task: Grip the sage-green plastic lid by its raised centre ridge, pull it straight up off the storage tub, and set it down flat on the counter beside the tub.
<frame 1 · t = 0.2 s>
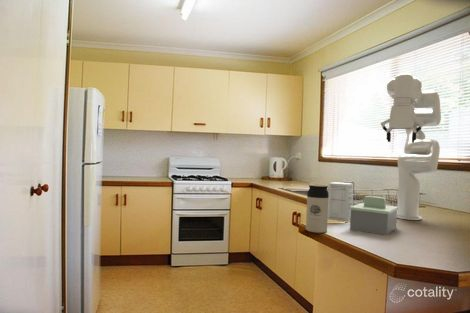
hand: (400, 142, 164), 36 cm above the counter, tool pointing down, fingers open, 9 cm apart
travel mug: (316, 231, 145), on the counter
tub: (373, 228, 154), on the counter
lid: (374, 209, 154), point 8 cm above the counter, touching tub
supplement box: (339, 219, 174), on the counter
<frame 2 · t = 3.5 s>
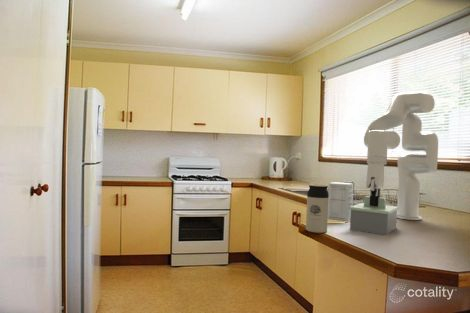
hand: (374, 205, 154), 10 cm above the counter, tool pointing down, fingers closed on lid, 2 cm apart
lid: (374, 209, 154), point 8 cm above the counter, touching gripper, tub
everything else where it was.
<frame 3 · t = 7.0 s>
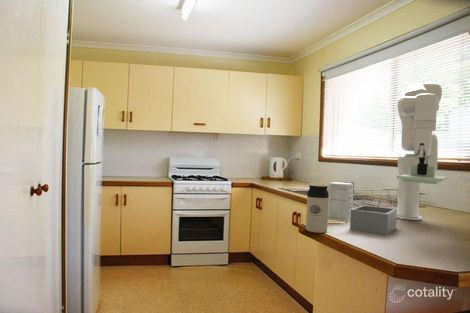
hand: (422, 174, 144), 24 cm above the counter, tool pointing down, fingers closed on lid, 2 cm apart
lid: (422, 178, 144), point 22 cm above the counter, touching gripper
everything else where it was.
when the fingers open (4 cm above the counter, at t = 10.6 s): lid drops 1 cm, point 1 cm above the counter.
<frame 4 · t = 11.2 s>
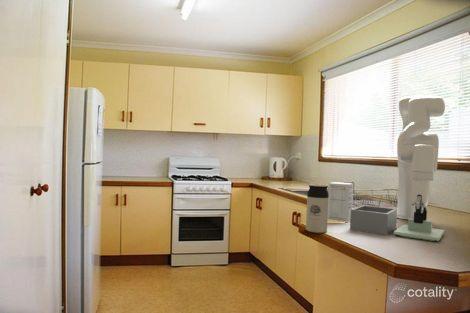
hand: (420, 221, 144), 5 cm above the counter, tool pointing down, fingers open, 8 cm apart
lid: (419, 233, 145), point 1 cm above the counter
everything else where it was.
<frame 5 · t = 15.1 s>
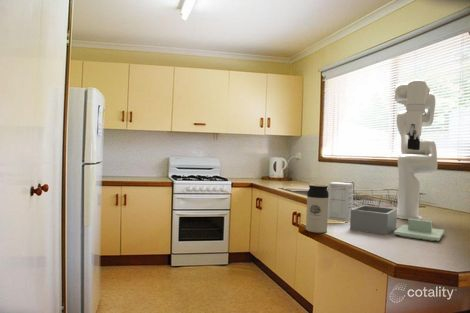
hand: (413, 149, 162), 33 cm above the counter, tool pointing down, fingers open, 9 cm apart
nothing on the counter moved.
at the end: lid inside the target area (0.1 cm from its centre), point 0.8 cm above the counter; lid tilted 0°; the gripper is holding nothing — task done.
